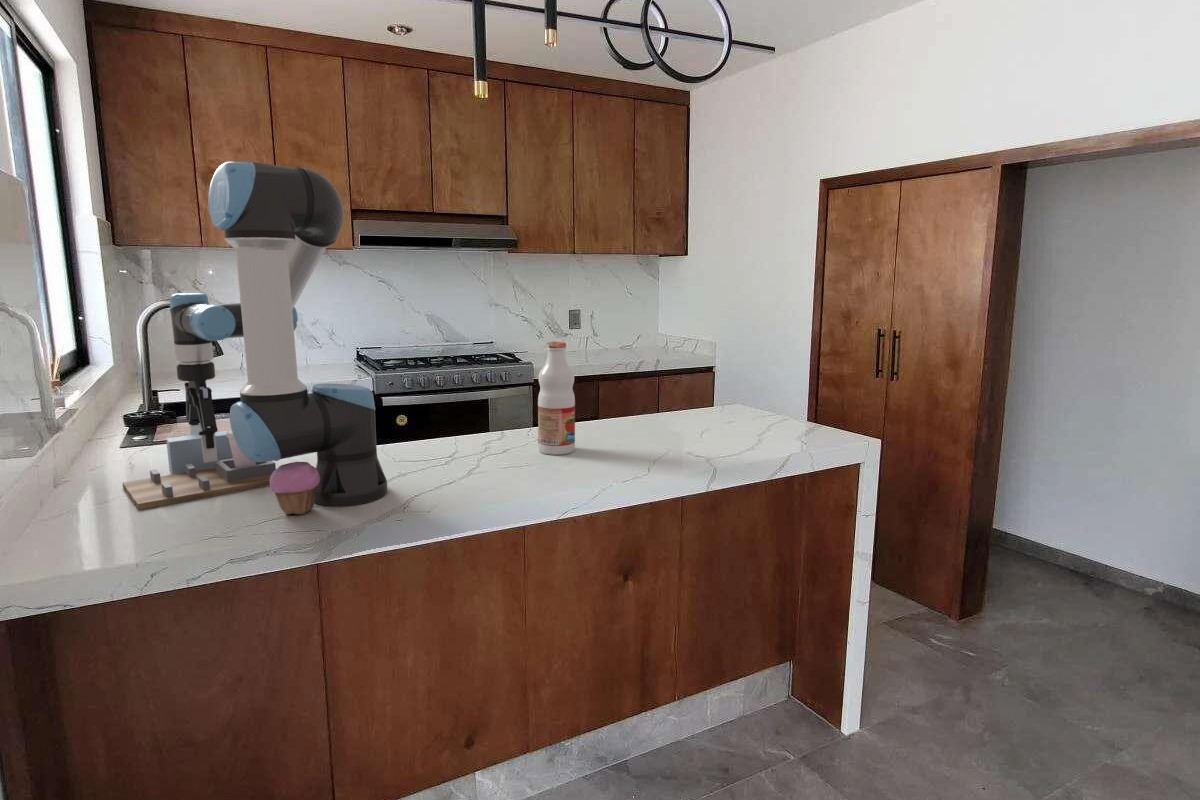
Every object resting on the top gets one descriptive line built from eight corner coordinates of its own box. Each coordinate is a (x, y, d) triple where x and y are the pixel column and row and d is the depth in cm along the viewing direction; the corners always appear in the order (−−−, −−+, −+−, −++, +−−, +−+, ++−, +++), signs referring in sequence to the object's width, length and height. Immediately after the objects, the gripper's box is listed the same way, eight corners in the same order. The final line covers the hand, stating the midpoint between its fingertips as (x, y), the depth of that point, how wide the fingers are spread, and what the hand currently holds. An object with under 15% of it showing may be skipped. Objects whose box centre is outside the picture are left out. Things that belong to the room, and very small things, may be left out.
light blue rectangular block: (236, 462, 174) (233, 429, 172) (240, 466, 170) (237, 433, 169) (169, 472, 165) (166, 438, 164) (172, 476, 162) (169, 442, 160)
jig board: (287, 482, 158) (287, 477, 158) (138, 509, 140) (137, 503, 140) (262, 464, 171) (261, 459, 171) (123, 487, 153) (122, 482, 153)
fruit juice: (537, 446, 190) (536, 340, 185) (573, 445, 191) (573, 340, 186) (539, 456, 181) (538, 344, 176) (576, 455, 182) (576, 344, 177)
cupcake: (328, 504, 144) (324, 456, 142) (312, 520, 135) (308, 468, 133) (282, 505, 143) (279, 456, 141) (264, 520, 135) (260, 468, 133)
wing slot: (210, 489, 149) (209, 480, 148) (166, 497, 144) (165, 487, 143) (191, 472, 161) (190, 463, 160) (150, 479, 156) (149, 470, 155)
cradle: (276, 473, 160) (275, 462, 160) (227, 482, 154) (226, 471, 153) (262, 464, 167) (261, 453, 167) (215, 472, 161) (214, 461, 161)
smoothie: (227, 478, 157) (220, 415, 154) (233, 470, 163) (227, 409, 160) (259, 475, 158) (253, 413, 156) (264, 467, 164) (259, 407, 162)
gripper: (227, 366, 157) (235, 464, 161) (201, 355, 174) (209, 444, 178) (188, 369, 152) (198, 470, 156) (165, 358, 169) (175, 449, 173)
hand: (204, 456), depth 167 cm, fingers open, 10 cm apart
